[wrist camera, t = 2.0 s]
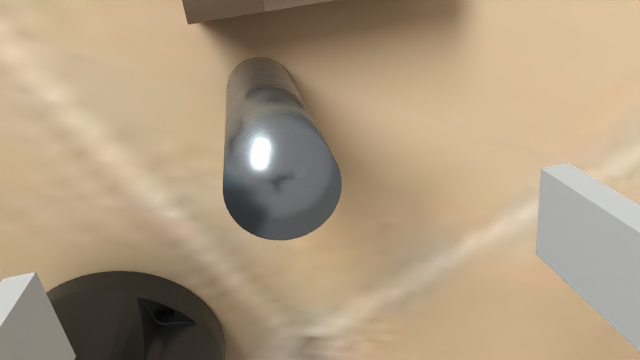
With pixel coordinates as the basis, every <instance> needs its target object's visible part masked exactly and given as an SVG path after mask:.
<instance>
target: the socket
mask: <svg viewBox="0 0 640 360" xmlns="http://www.w3.org/2000/svg"><path fill="white" fill-rule="evenodd" d="M327 1H333V0H182V2H183V6H184V10H185V14H186V18H187V22H188V24H194V23H200V22H206V21H212V20H218V19H224V18H230V17H236V16H242V15H248V14H254V13H261V12H267V11H273V10H279V9H285V8H291V7H297V6H303V5H309V4H315V3H321V2H327Z"/></svg>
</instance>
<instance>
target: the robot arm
mask: <svg viewBox="0 0 640 360" xmlns="http://www.w3.org/2000/svg"><path fill="white" fill-rule="evenodd" d="M536 255H537V256H538V257H540V258H541V259H542V260H543V261H544V262H545V263H546V264H547V265H548V266H549V267H550V268H551V269H552V270H553V271H554V272H555V273H556V274H557V275H559V276H560V277H561V278H562V279H563V280H564V281H565V282H566V283H567V284H568V285H569V286H570V287H571V288H572V289H573V290H574V291H575V292H576V293H578V294H579V295H580V296H581V297H582V298H583V299H584V300H585V301H586V302H587V303H588V304H589V305H590V306H591V307H592V308H593V309H594V310H595V311H597V312H598V313H599V314H600V315H601V316H602V317H603V318H604V319H605V320H606V321H607V322H608V323H609V324H610V325H611V326H612V327H613V328H614V329H616V330H617V331H618V332H619V333H620V334H621V335H622V336H623V337H624V338H625V339H626V340H627V341H628V342H629V343H630V344H631V345H632V346H633V347H635V348H636V349H637V350H638V351H639V352H640V205H639V204H637V203H635V202H634V201H632V200H630V199H629V198H627V197H625V196H623V195H622V194H620V193H618V192H617V191H615V190H613V189H611V188H610V187H608V186H606V185H605V184H603V183H601V182H599V181H598V180H596V179H594V178H593V177H591V176H589V175H587V174H586V173H584V172H582V171H581V170H579V169H577V168H575V167H574V166H572V165H570V164H569V163H565V164H560V165H555V166H550V167H545V168H541V177H540V193H539V210H538V226H537V243H536ZM0 360H225V340H224V335H223V331H222V328H221V326H220V324H219V322H218V320H217V318H216V316H215V315H214V313H213V312H212V311H211V309H210V308H209V307H208V306H207V305H206V304H205V303H204V302H203V301H202V300H201V299H200V298H199V297H198V296H196V295H195V294H194V293H192V292H191V291H189V290H188V289H186V288H184V287H182V286H181V285H179V284H176V283H174V282H172V281H170V280H167V279H164V278H161V277H158V276H154V275H150V274H145V273H138V272H128V271H111V272H101V273H94V274H89V275H85V276H81V277H78V278H75V279H72V280H70V281H67V282H65V283H63V284H61V285H59V286H57V287H55V288H53V289H52V290H50V291H49V292H47V293H46V292H45V290H44V288H43V286H42V284H41V282H40V279H39V277H38V275H37V273H36V272H33V273H28V274H23V275H18V276H13V277H8V278H4V279H3V280H2V281H1V282H0Z"/></svg>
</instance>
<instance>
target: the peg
mask: <svg viewBox="0 0 640 360" xmlns="http://www.w3.org/2000/svg"><path fill="white" fill-rule="evenodd" d="M341 185H342V184H341V174H340V170H339V167H338V164H337V162H336V160H335V159H334V157H333V155H332V153H331V151H330V149H329V147H328V146H327V144H326V142H325V140H324V138H323V136H322V135H321V133H320V131H319V129H318V127H317V125H316V124H315V122H314V120H313V118H312V116H311V114H310V112H309V111H308V109H307V107H306V105H305V103H304V101H303V100H302V98H301V96H300V94H299V92H298V90H297V89H296V87H295V85H294V83H293V81H292V79H291V77H290V76H289V74H288V72H287V71H286V70H285V69H284V68H283V67H282V66H281V65H280V64H279V63H277V62H275V61H273V60H271V59H267V58H253V59H249V60H246V61H244V62H242V63H241V64H240V65H238V66H237V67H236V68H235V69H234V71H233V72H232V73H231V75H230V77H229V80H228V84H227V98H226V122H225V147H224V172H223V196H224V201H225V204H226V207H227V209H228V211H229V213H230V215H231V216H232V218H233V219H234V220H235V221H236V222H237V223H238V225H240V226H241V227H242V228H243V229H245V230H246V231H248V232H249V233H251V234H253V235H256V236H258V237H261V238H265V239H270V240H289V239H295V238H298V237H301V236H304V235H306V234H309V233H310V232H312V231H314V230H315V229H317V228H318V227H320V226H321V225H322V224H323V223H324V222H325V221H326V220H327V219H328V218H329V217H330V215H331V214H332V213H333V211H334V209H335V207H336V206H337V203H338V201H339V198H340V193H341Z"/></svg>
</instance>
